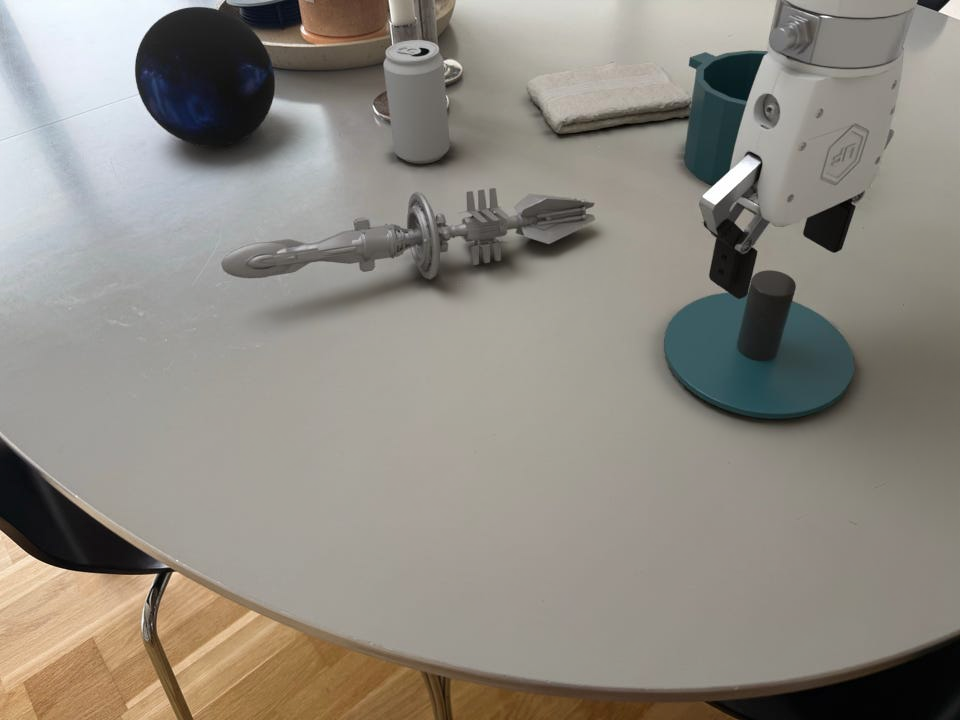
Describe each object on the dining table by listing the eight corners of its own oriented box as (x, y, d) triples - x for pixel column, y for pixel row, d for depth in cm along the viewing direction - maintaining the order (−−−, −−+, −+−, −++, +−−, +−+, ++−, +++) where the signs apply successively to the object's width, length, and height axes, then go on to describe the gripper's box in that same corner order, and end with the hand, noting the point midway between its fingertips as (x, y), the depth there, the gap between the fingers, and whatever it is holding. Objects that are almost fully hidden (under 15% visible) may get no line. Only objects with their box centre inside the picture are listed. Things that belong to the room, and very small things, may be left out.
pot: (729, 112, 98) (743, 33, 92) (861, 178, 86) (888, 91, 79) (642, 145, 93) (650, 63, 86) (769, 219, 81) (790, 131, 74)
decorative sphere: (143, 173, 93) (96, 41, 82) (176, 113, 104) (138, -10, 94) (276, 167, 92) (244, 33, 82) (294, 107, 104) (269, -16, 93)
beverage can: (437, 170, 90) (428, 64, 82) (385, 162, 92) (371, 57, 84) (458, 144, 95) (452, 40, 87) (408, 136, 97) (397, 35, 89)
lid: (751, 282, 74) (768, 208, 68) (890, 374, 64) (922, 297, 59) (626, 343, 68) (634, 269, 63) (757, 453, 59) (780, 376, 54)
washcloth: (697, 117, 97) (701, 92, 95) (554, 140, 95) (554, 115, 92) (657, 77, 106) (659, 54, 104) (524, 97, 103) (524, 74, 101)
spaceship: (209, 213, 71) (215, 226, 64) (571, 165, 82) (611, 172, 74) (226, 301, 73) (234, 323, 66) (575, 244, 84) (613, 257, 77)
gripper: (784, 87, 43) (726, 336, 54) (985, 14, 49) (896, 250, 61) (684, 42, 47) (651, 280, 59) (879, -18, 54) (815, 206, 65)
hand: (775, 265), depth 60 cm, fingers open, 9 cm apart
